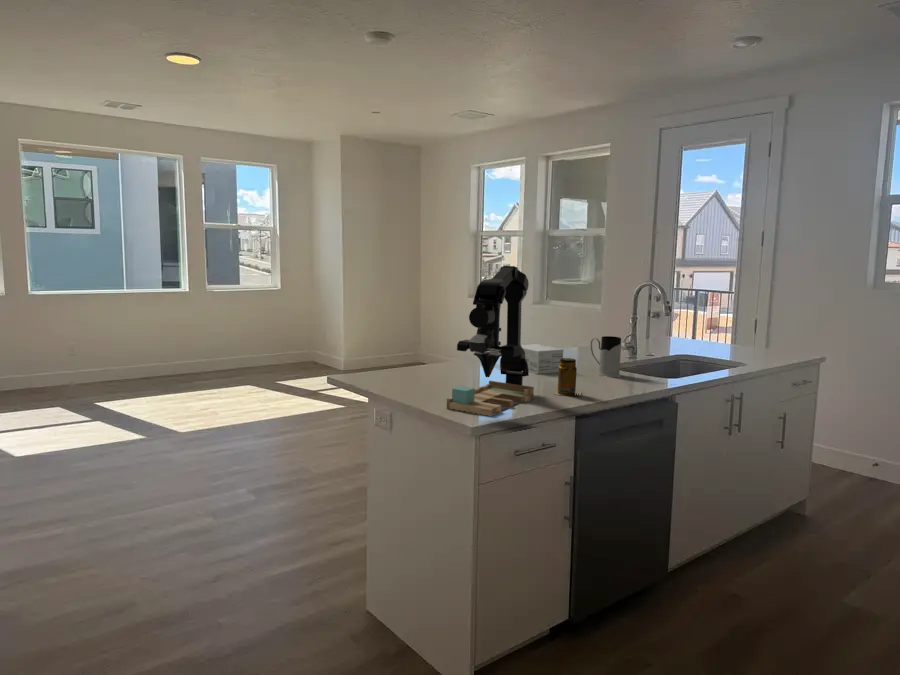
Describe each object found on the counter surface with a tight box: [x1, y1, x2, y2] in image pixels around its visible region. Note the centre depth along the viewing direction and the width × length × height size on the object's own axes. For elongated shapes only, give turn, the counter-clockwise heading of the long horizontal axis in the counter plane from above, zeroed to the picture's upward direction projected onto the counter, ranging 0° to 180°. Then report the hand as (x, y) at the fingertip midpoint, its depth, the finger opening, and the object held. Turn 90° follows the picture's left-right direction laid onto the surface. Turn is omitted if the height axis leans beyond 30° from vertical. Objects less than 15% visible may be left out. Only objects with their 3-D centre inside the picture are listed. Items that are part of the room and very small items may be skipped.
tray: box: [446, 380, 535, 417], centre depth 200 cm, size 28×16×4 cm, turn 149°
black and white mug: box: [590, 335, 622, 378], centre depth 255 cm, size 9×14×15 cm, turn 39°
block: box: [451, 385, 476, 404], centre depth 194 cm, size 5×5×4 cm
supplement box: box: [521, 343, 564, 375], centre depth 261 cm, size 17×13×9 cm
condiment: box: [554, 357, 581, 397], centre depth 217 cm, size 7×8×12 cm
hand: (487, 377), depth 189 cm, fingers closed
